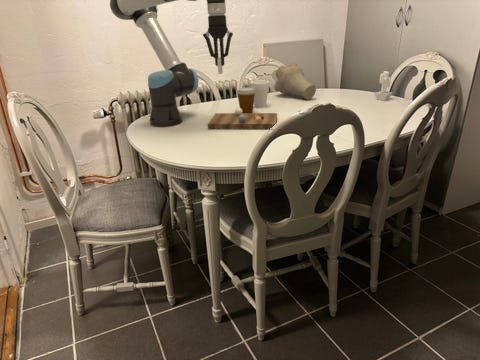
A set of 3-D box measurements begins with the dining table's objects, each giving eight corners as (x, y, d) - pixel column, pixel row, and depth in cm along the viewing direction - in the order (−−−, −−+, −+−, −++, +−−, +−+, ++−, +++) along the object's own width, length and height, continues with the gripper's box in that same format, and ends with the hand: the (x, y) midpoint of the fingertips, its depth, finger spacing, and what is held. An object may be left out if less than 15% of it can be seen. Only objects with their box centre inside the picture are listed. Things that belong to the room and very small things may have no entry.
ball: (262, 118, 159) (260, 125, 160) (262, 116, 162) (261, 123, 163) (254, 116, 159) (253, 123, 161) (255, 114, 162) (254, 121, 164)
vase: (334, 75, 195) (301, 59, 213) (306, 73, 183) (274, 56, 201) (320, 111, 206) (290, 93, 225) (293, 112, 194) (264, 92, 212)
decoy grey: (237, 123, 155) (237, 115, 154) (238, 120, 158) (238, 113, 157) (245, 123, 155) (245, 115, 153) (246, 120, 158) (246, 113, 157)
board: (208, 129, 157) (207, 123, 156) (215, 118, 173) (215, 113, 172) (275, 129, 153) (275, 123, 152) (277, 118, 169) (277, 113, 168)
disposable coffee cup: (254, 115, 176) (253, 90, 171) (235, 114, 178) (234, 90, 173) (257, 110, 184) (256, 87, 179) (239, 110, 186) (238, 87, 181)
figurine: (393, 98, 196) (397, 70, 189) (384, 101, 190) (388, 73, 184) (380, 97, 201) (384, 69, 194) (372, 100, 195) (375, 72, 189)
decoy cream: (234, 115, 167) (234, 108, 165) (236, 113, 170) (235, 106, 168) (242, 115, 166) (241, 108, 165) (242, 113, 169) (242, 106, 168)
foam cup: (249, 107, 190) (248, 83, 184) (254, 103, 197) (254, 80, 192) (265, 108, 186) (265, 83, 181) (271, 104, 194) (271, 80, 189)
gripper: (199, 15, 144) (204, 75, 154) (231, 14, 142) (233, 74, 152) (203, 15, 151) (207, 72, 161) (233, 14, 149) (236, 71, 159)
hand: (220, 73), depth 157 cm, fingers closed
